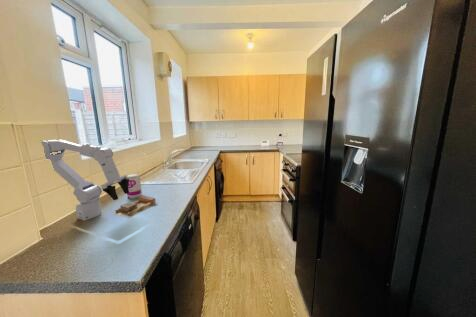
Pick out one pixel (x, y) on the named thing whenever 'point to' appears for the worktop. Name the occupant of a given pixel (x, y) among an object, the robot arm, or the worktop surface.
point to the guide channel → (138, 206)
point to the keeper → (128, 207)
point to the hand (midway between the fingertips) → (121, 196)
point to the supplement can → (134, 186)
